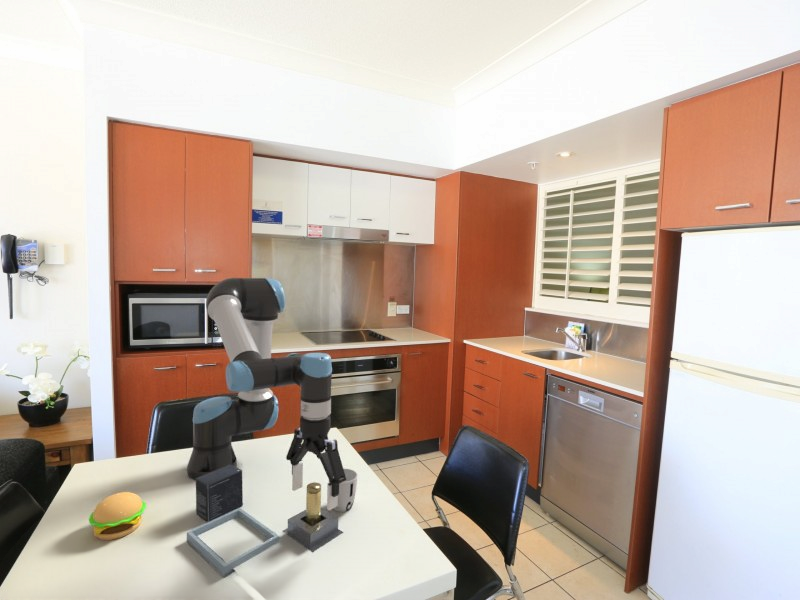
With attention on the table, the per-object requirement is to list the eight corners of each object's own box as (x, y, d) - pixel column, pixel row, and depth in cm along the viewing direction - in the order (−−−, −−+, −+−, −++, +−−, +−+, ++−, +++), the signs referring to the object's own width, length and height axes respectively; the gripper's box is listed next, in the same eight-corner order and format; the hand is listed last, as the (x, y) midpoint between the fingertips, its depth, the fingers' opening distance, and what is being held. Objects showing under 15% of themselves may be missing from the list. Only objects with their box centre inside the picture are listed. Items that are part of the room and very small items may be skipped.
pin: (302, 532, 104) (303, 486, 103) (313, 525, 107) (314, 481, 106) (311, 538, 102) (312, 491, 101) (323, 531, 105) (324, 485, 104)
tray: (186, 541, 100) (186, 532, 100) (239, 516, 111) (239, 507, 111) (224, 577, 89) (224, 566, 89) (279, 545, 100) (279, 536, 100)
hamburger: (86, 550, 96) (85, 515, 96) (91, 523, 106) (91, 491, 106) (146, 534, 103) (146, 501, 102) (145, 510, 113) (145, 480, 112)
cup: (351, 519, 112) (352, 484, 111) (323, 515, 113) (324, 480, 113) (360, 503, 120) (361, 470, 119) (333, 499, 121) (334, 466, 120)
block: (282, 534, 104) (282, 517, 104) (313, 517, 112) (313, 501, 112) (312, 556, 97) (313, 537, 96) (343, 536, 104) (344, 519, 104)
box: (230, 498, 120) (230, 463, 120) (243, 505, 116) (244, 470, 116) (194, 514, 112) (194, 477, 111) (207, 523, 108) (207, 485, 107)
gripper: (273, 407, 107) (272, 486, 108) (338, 432, 92) (336, 523, 93) (296, 401, 113) (295, 476, 114) (361, 423, 98) (359, 509, 99)
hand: (314, 497), depth 104 cm, fingers open, 13 cm apart
